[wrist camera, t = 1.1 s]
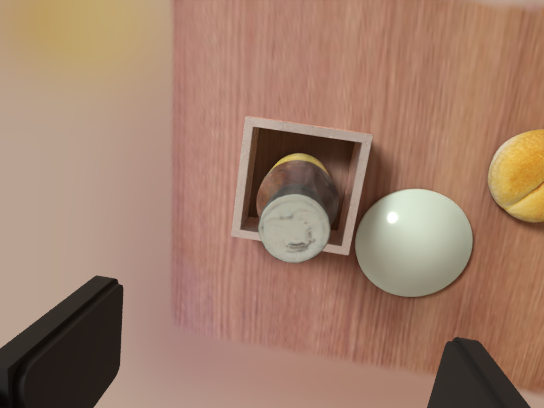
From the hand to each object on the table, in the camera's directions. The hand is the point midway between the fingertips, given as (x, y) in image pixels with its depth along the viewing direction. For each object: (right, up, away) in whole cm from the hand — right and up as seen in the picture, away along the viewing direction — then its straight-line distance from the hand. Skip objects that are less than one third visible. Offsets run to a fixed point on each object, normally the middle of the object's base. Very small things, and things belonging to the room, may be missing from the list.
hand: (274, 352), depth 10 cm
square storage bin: (+3, +7, +29) cm, 30 cm away
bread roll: (+26, +7, +27) cm, 38 cm away
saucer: (+15, 0, +29) cm, 33 cm away
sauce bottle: (+3, +7, +29) cm, 30 cm away
